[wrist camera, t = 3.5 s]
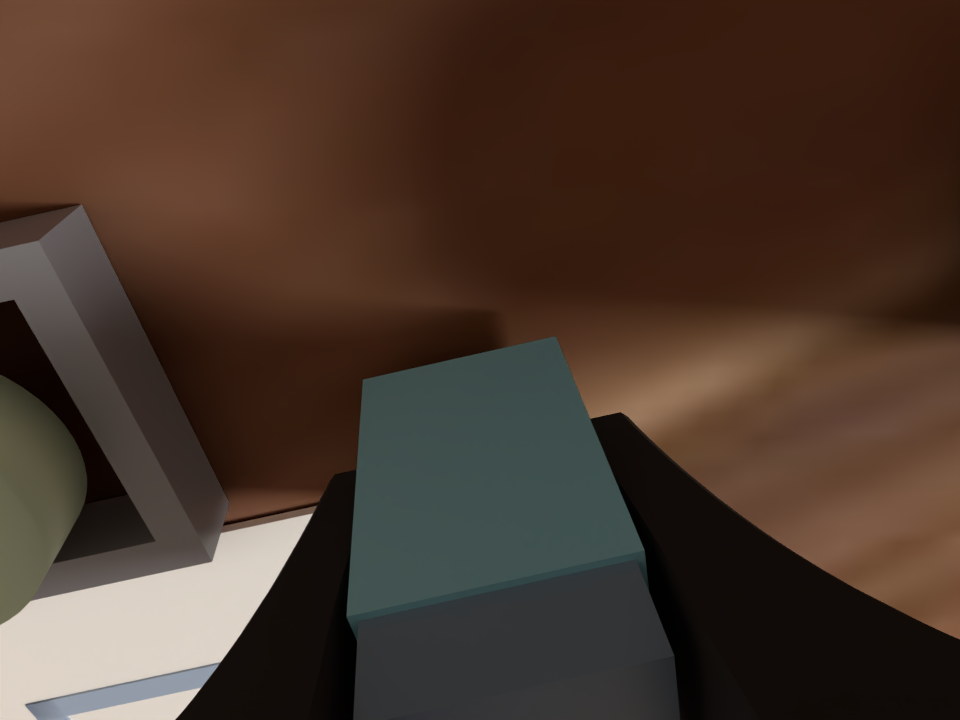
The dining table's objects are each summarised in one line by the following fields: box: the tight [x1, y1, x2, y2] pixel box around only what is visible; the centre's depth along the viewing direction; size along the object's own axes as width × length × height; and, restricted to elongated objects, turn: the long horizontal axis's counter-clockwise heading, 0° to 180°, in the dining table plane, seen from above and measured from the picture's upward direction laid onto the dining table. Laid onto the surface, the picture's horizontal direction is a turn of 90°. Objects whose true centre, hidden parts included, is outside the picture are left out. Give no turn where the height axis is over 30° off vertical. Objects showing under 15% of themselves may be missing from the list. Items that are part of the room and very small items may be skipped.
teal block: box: [346, 336, 680, 720], centre depth 10 cm, size 3×3×6 cm
